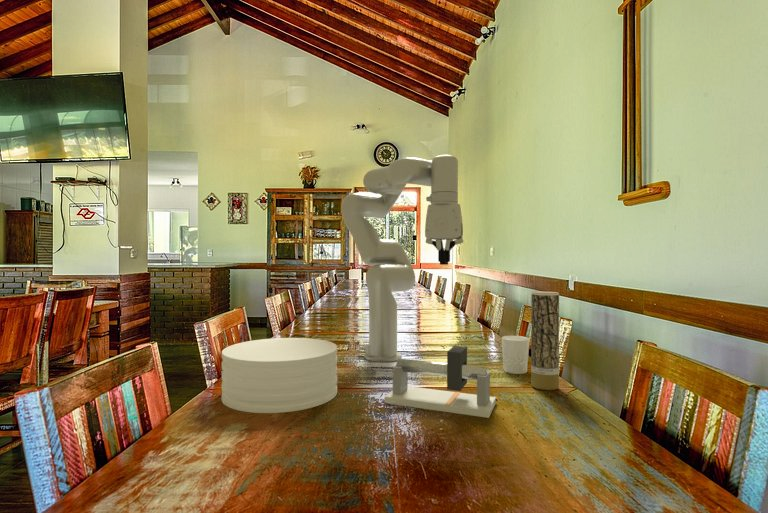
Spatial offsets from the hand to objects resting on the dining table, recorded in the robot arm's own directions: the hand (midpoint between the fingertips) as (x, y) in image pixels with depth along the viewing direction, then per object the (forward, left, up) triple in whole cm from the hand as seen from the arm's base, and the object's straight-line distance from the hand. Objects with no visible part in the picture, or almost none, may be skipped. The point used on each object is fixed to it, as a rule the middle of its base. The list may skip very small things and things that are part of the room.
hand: (444, 264), depth 125 cm
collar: (+9, -22, -28) cm, 36 cm away
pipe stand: (+5, -22, -32) cm, 39 cm away
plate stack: (-34, -30, -32) cm, 56 cm away
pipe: (+5, -22, -26) cm, 34 cm away
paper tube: (+27, +1, -32) cm, 42 cm away
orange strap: (+8, -22, -31) cm, 39 cm away
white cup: (+18, +15, -32) cm, 40 cm away
